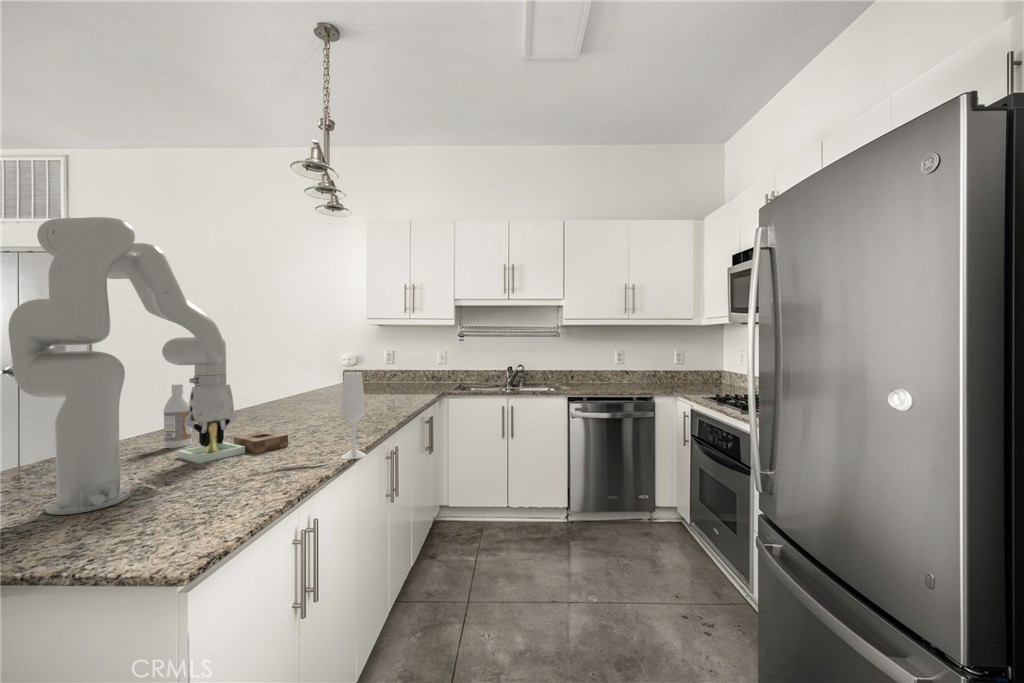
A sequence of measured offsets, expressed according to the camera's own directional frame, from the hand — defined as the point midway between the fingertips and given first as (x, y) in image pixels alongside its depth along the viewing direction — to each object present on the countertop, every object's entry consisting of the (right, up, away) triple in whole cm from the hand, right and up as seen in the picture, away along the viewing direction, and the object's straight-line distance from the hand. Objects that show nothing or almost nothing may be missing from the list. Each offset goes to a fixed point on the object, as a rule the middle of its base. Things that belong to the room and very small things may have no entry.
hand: (211, 444), depth 127 cm
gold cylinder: (0, -3, 0) cm, 3 cm away
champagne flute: (+41, -4, 0) cm, 41 cm away
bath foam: (-19, -4, +13) cm, 23 cm away
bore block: (+9, -4, +9) cm, 13 cm away
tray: (0, -4, 0) cm, 4 cm away
